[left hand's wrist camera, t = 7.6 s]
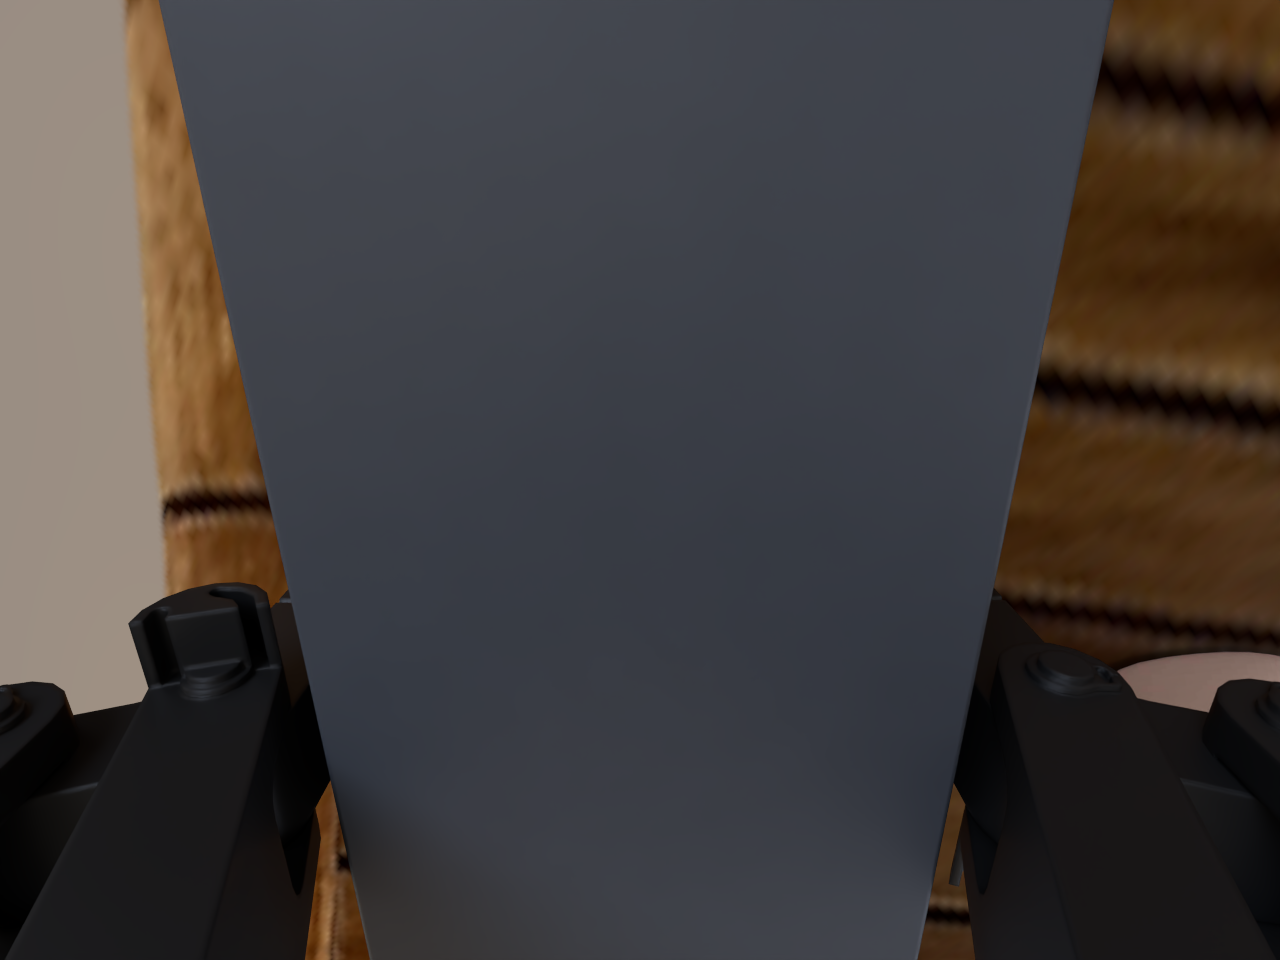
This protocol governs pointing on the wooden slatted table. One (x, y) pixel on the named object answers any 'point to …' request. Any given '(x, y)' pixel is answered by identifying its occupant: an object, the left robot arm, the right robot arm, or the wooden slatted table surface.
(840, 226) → the bar
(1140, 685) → the anatomical model
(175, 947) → the left robot arm
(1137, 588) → the wooden slatted table surface
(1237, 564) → the wooden slatted table surface
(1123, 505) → the wooden slatted table surface
